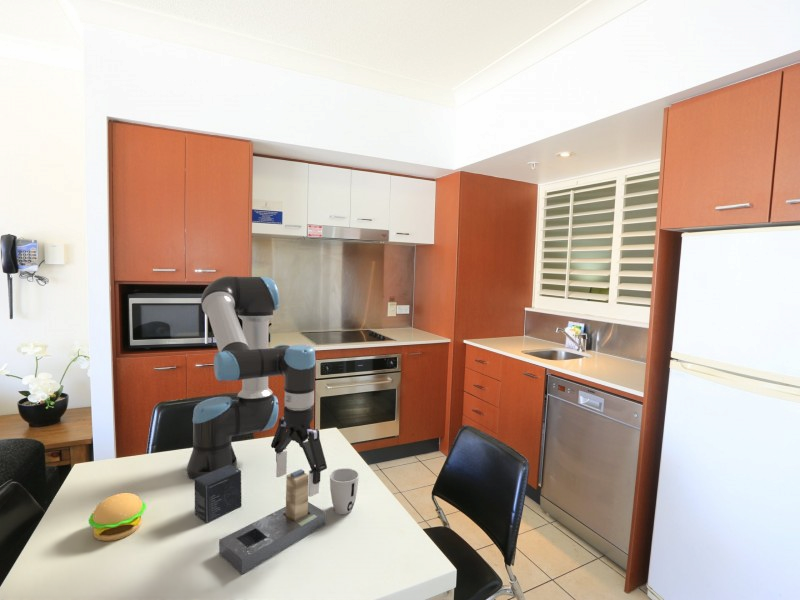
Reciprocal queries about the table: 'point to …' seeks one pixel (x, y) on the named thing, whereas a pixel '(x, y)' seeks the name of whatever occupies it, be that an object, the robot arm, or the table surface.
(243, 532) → the panel
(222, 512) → the box
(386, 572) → the table surface
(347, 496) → the cup
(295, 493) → the plug
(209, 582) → the table surface
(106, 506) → the toy hamburger
